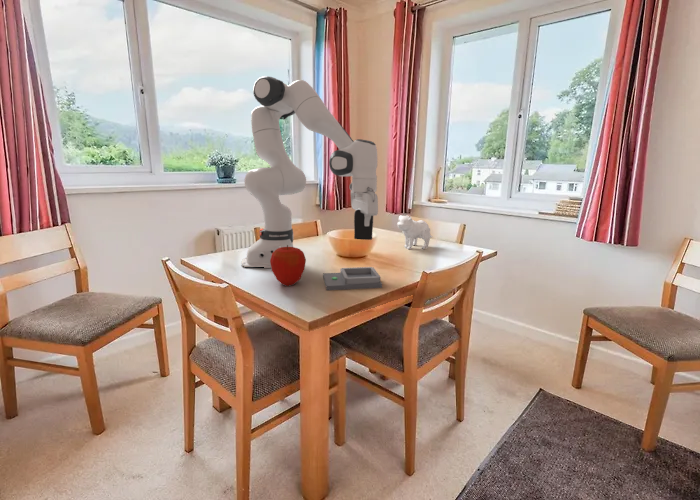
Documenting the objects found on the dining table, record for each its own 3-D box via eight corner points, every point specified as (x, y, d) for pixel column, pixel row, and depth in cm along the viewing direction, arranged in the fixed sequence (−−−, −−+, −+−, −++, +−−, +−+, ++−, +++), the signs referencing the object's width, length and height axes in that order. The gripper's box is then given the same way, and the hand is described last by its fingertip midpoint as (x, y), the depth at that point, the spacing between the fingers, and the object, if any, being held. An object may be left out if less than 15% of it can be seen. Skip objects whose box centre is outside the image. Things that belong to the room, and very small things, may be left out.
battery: (373, 237, 137) (374, 207, 133) (372, 240, 133) (373, 209, 130) (354, 236, 138) (355, 207, 134) (353, 239, 134) (354, 209, 131)
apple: (312, 286, 125) (311, 246, 122) (279, 292, 119) (278, 250, 115) (297, 276, 135) (296, 239, 132) (266, 281, 129) (264, 243, 125)
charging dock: (326, 290, 121) (326, 280, 120) (323, 277, 135) (323, 268, 134) (382, 287, 124) (382, 278, 123) (373, 275, 138) (373, 266, 137)
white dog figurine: (424, 242, 193) (426, 211, 189) (439, 246, 185) (442, 213, 180) (388, 248, 179) (390, 215, 175) (403, 253, 170) (405, 218, 166)
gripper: (383, 188, 121) (381, 229, 125) (363, 184, 140) (363, 219, 144) (365, 188, 120) (364, 230, 123) (348, 184, 139) (347, 220, 142)
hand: (363, 224), depth 134 cm, fingers closed on battery, 5 cm apart
